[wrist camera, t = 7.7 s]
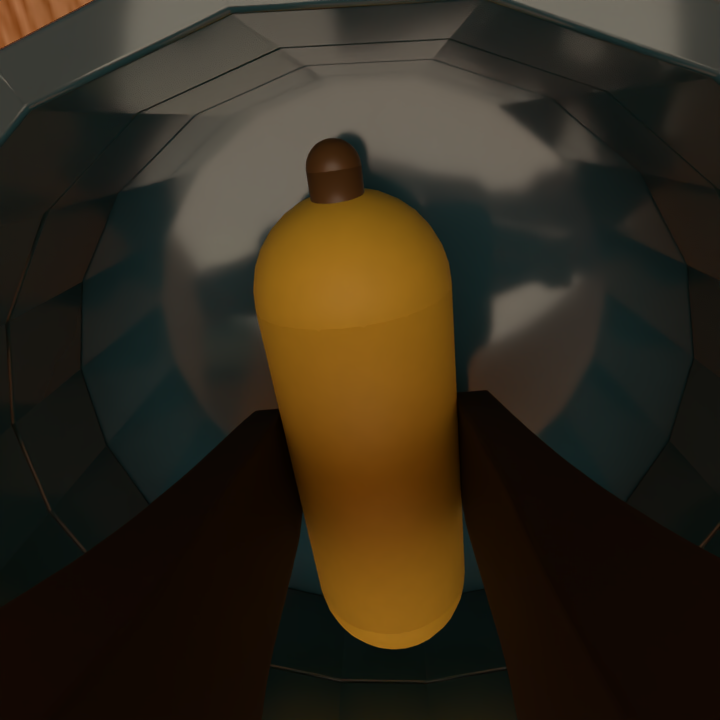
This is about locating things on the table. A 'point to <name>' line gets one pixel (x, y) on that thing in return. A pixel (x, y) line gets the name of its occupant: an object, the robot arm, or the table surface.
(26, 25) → the table surface
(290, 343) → the banana
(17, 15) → the table surface
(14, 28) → the table surface
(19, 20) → the table surface
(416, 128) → the bowl
